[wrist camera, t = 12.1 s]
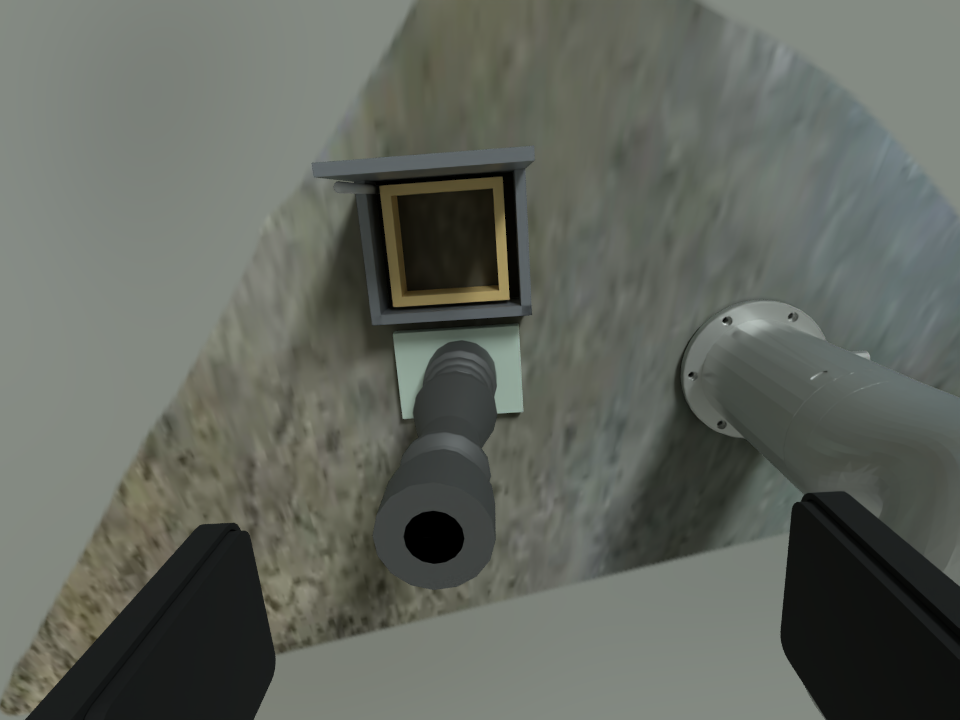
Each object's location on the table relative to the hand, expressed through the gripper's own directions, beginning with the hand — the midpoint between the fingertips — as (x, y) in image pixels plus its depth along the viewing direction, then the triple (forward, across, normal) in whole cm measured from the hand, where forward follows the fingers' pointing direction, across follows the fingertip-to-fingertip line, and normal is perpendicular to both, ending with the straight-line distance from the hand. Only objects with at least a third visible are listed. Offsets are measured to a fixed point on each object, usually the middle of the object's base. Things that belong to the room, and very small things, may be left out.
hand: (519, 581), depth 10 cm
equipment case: (+40, +4, -3) cm, 41 cm away
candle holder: (+40, +4, +8) cm, 41 cm away
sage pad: (+40, +4, +8) cm, 41 cm away
